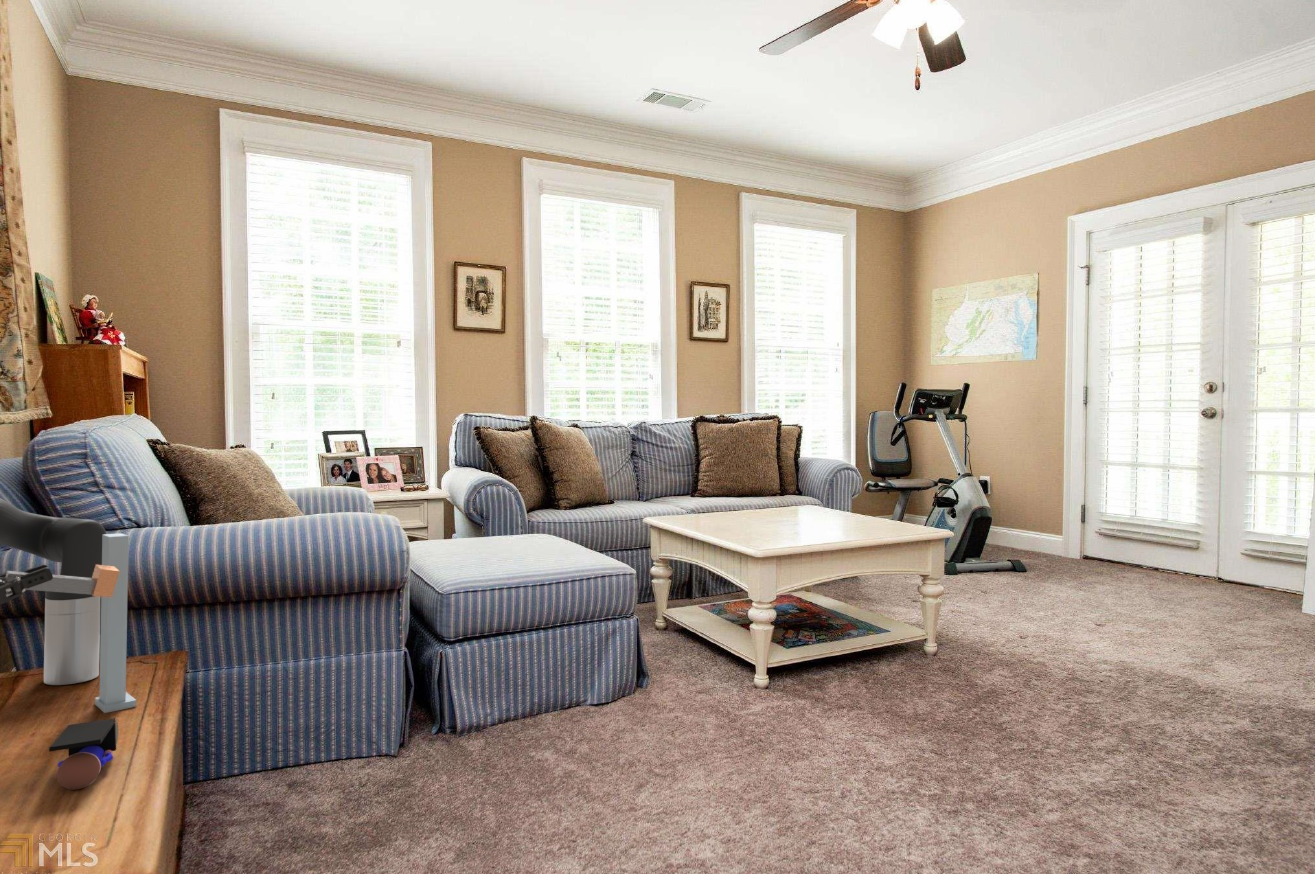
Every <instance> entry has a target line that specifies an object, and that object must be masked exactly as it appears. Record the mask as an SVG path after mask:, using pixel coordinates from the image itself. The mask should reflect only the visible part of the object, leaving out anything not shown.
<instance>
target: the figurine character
mask: <svg viewBox="0 0 1315 874" xmlns="http://www.w3.org/2000/svg"><path fill="white" fill-rule="evenodd" d="M118 741H119V723H118V722H117V721H116V717H114V718H113V717H112V718H108V719H100V720H93V721H87V722H81V723H80V722H79V723H74V724H73V723H72V724H68V725H67V726H66V727H65V728H64V729H63V731H62V732H61V733H60V734H59V735H58V737H57V738H55V740H54V741H53V743H51V745H50V746H49V747H48V751H49V752H56V751H63V750H68V751H67V752H68V757H67V758H65V759H63V760H61V761H59V762H58V763H57V766H58V769H57V772H56V779H57V782H58V784H59V785H60V786H61V787H63V788H65V789H67V790H71V791H72V790H73V791H74V790H80V789H83V788H86V787H88V786H91V784H92V783H94V782H95V780H97V778H98V777H99V775H100V772H101V768H102V767H103V766H105V765H106V763H108V762H110V761H112V760H113V759H114V756H113V752H115V751H116V750H117V744H118Z"/></svg>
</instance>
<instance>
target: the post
mask: <svg viewBox="0 0 1315 874" xmlns="http://www.w3.org/2000/svg"><path fill="white" fill-rule="evenodd" d="M129 537H130V536H129V535H127V534H125V533H121V532H120V533H106V534H103V535H102V565H105V566H114V567H115V568H117V569H118V570H119V575H118V578H117V582H116V585H115V589H114V592H113V596H112V597H102V596H100V648H99V696H97V697H94V705H95V706H96V707H97V708H98V709H100V711H102V712H103V714H107V713H111V712H117V711H122V710H126V709H131V708H136V707H137V699H136V698H135V697H133V696H132V695H131V694H130V693H128V692H127V689H126V688H127V687H126V686H127V646H128V644H127V641H128V640H127V639H128V638H127V636H128V633H127V632H128V592H129V591H128V590H129V588H128V586H129V585H128V584H129V583H128V581H129V540H130V539H129Z"/></svg>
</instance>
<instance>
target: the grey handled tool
mask: <svg viewBox="0 0 1315 874" xmlns="http://www.w3.org/2000/svg"><path fill="white" fill-rule="evenodd" d="M6 572H7V573H6ZM6 572H5V573H6V576H5V580H4V581H6V580H9V579H13V578H15V577H19V576H21V578H22V576H23V575H25V574H28V572H22V571H14V570H6ZM118 575H119V570H118V569H117V568H115V567H114V566H105V565H95V569H94V572H93V576H92V578H86V577H75V576H63V575H60V574H52V576H53V579H52V580H50V581H47V582H44V583H42V584H39V585H36V586H33V587H31V588H28V589H27V588H26V589H27V590H26V591H39V592H45V591H51V592H64V593H78V594H91V595H93V596H100V597H101V596H102V597H112V596H113V592H114V589H115V585H116V582H117V578H118Z"/></svg>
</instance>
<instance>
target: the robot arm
mask: <svg viewBox="0 0 1315 874" xmlns="http://www.w3.org/2000/svg"><path fill="white" fill-rule="evenodd" d="M103 534H107V531H106V528H105V527H104V525H102V524H101V522H99V521H97V520H94V519H88V518H72V517H70V518H69V517H55V516H48V515H42V514H37V513H33V512H28V511H24V510H22V509H20V508H18V507H16V506H14V505H13V504H12V503H10V502H8V501H6V500H5V499H3V498H1V497H0V546H2V547H8V548H13V549H16V550H19V551H22V552H24V553H25V552H26V553H28V554H31V555H32V556H33V555H34V556H37V557H39V558H41V559H45V560H48V561H51V562H55V563H61V564H60V565H61V567H60V568H61V569H60V574H59V575H63V576H75V577H86V578H92V576H93V572H94V569H95V565H102V535H103ZM21 572H28V574H25V575H23V576H22V578H21V576H19V577H15V578H13V579H9V580H6V581H4V580H5V576H6V573H7V571H6V572H4V573H0V606H1V605H3V604H5V603H8V602H10V601H12V600H14V599H16V598H19V597H21V596H22V595H24V593H25V592H26V591H28V590H27V589H28V588H31V587H33V586H36V585H39V584H42V583H44V582H47V581H50V580H52V579H53V576H52V575H53V574H52V571H51V569H50V568H49V567H48V565H47V564H45V563H43V564H40V565H37V566H33V567H31V568H29V569H25V570H22V571H21ZM26 588H27V589H26ZM44 592H45V593H44V594H45V595H44V643H43V644H44V646H43V647H44V648H43V649H44V650H43V651H44V652H43V653H44V654H43V655H44V656H43V658H44V659H43V684H46V685H49V686H62V685H63V686H65V685H72V684H77V683H78V684H79V683H83V682H88V681H91V680H93V679H96V678H98V677H99V676H100V641H101V596H93V595H91V594H78V593H64V592H51V591H44Z"/></svg>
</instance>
